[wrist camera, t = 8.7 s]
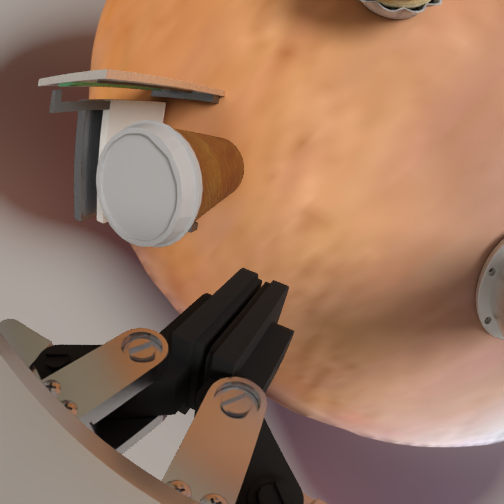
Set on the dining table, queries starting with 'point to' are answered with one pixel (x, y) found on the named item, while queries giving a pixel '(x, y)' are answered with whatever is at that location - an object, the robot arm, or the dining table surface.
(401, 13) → the cupcake
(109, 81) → the gauge frame
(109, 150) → the disposable coffee cup
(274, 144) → the dining table surface
